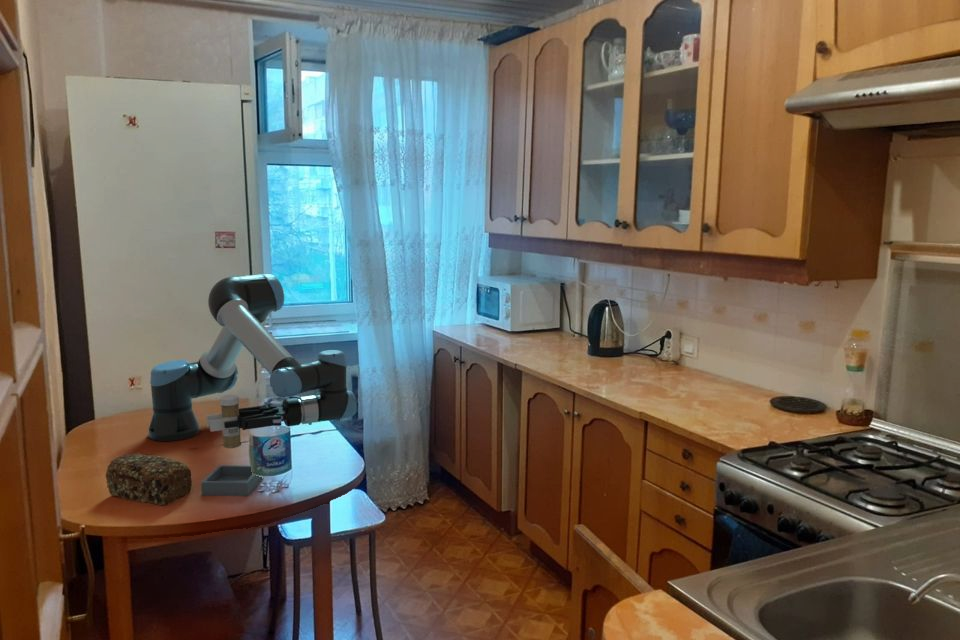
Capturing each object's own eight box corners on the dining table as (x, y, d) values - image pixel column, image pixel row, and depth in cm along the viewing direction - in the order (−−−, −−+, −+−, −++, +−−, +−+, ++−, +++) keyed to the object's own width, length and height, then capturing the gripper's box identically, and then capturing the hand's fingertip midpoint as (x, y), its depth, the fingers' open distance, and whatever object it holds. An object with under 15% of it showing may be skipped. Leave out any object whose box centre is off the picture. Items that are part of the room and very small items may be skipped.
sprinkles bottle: (241, 442, 187) (239, 393, 185) (240, 448, 182) (237, 398, 180) (223, 444, 186) (220, 394, 183) (222, 449, 181) (219, 399, 179)
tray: (201, 495, 180) (201, 482, 179) (220, 477, 192) (219, 465, 191) (248, 495, 180) (247, 482, 179) (263, 477, 191) (263, 465, 191)
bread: (106, 497, 179) (103, 460, 177) (139, 482, 189) (136, 446, 187) (163, 508, 172) (160, 470, 171) (194, 492, 182) (192, 455, 181)
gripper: (308, 433, 185) (214, 447, 173) (291, 416, 200) (204, 428, 188) (307, 405, 183) (213, 418, 172) (290, 390, 198) (203, 401, 187)
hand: (208, 423), depth 180 cm, fingers closed on sprinkles bottle, 4 cm apart
